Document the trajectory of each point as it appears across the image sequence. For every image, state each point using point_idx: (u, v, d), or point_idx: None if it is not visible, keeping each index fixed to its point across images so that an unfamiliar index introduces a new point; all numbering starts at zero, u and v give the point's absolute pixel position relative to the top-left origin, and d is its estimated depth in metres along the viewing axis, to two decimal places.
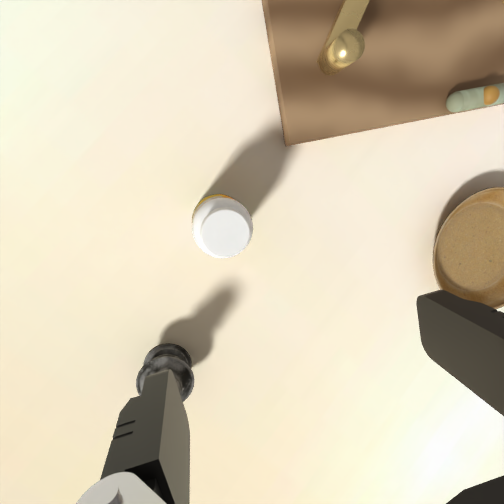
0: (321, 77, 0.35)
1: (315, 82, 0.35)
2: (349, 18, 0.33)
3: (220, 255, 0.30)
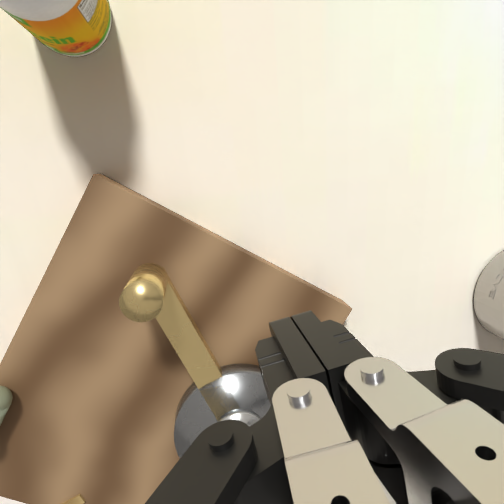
0: (143, 263, 0.26)
1: (142, 253, 0.26)
2: (177, 327, 0.26)
3: None
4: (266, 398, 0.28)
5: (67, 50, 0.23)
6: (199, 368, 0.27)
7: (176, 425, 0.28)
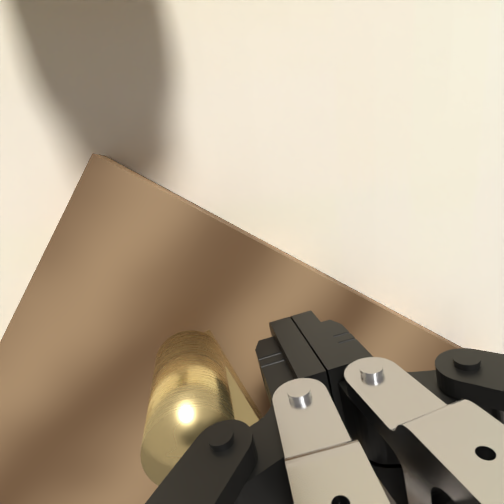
0: (183, 317, 0.15)
1: (182, 300, 0.14)
2: None
3: None
4: None
5: None
6: None
7: None
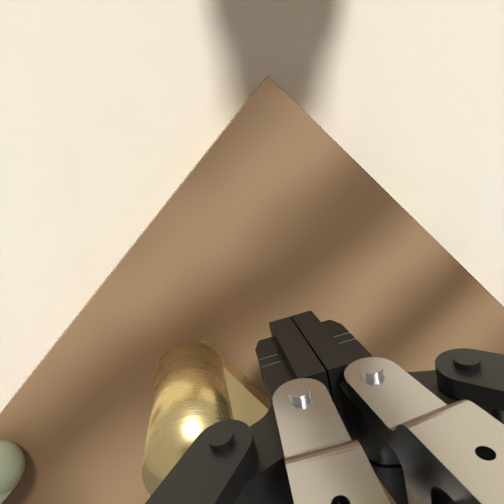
0: (307, 256, 0.15)
1: (310, 238, 0.15)
2: None
3: None
4: None
5: None
6: None
7: None
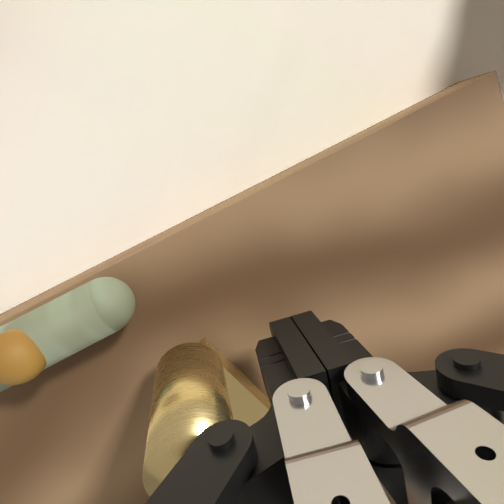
0: (447, 240, 0.16)
1: (457, 225, 0.16)
2: None
3: None
4: None
5: None
6: None
7: None
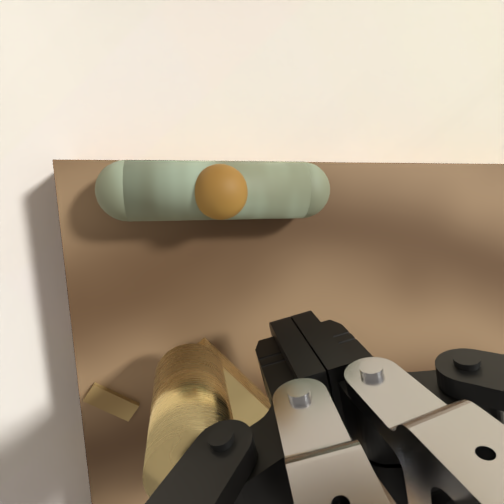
0: None
1: None
2: None
3: None
4: None
5: None
6: None
7: None
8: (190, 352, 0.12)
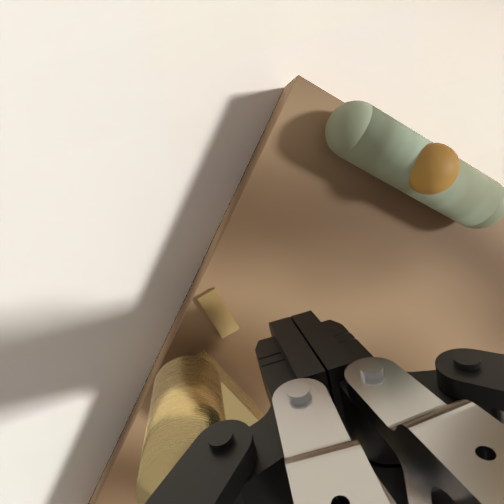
0: None
1: None
2: None
3: None
4: None
5: None
6: None
7: None
8: (189, 365, 0.12)
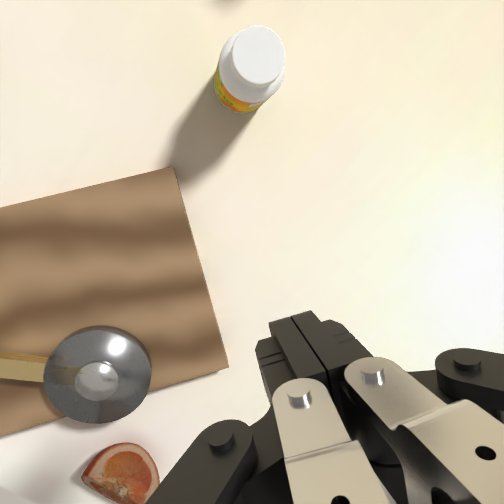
0: (147, 234, 0.35)
1: (152, 229, 0.35)
2: None
3: (264, 28, 0.26)
4: (86, 348, 0.35)
5: (223, 101, 0.34)
6: (27, 372, 0.35)
7: (60, 410, 0.36)
8: None
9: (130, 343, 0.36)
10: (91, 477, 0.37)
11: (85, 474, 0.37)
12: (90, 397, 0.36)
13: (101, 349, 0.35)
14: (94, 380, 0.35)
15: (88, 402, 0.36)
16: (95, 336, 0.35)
